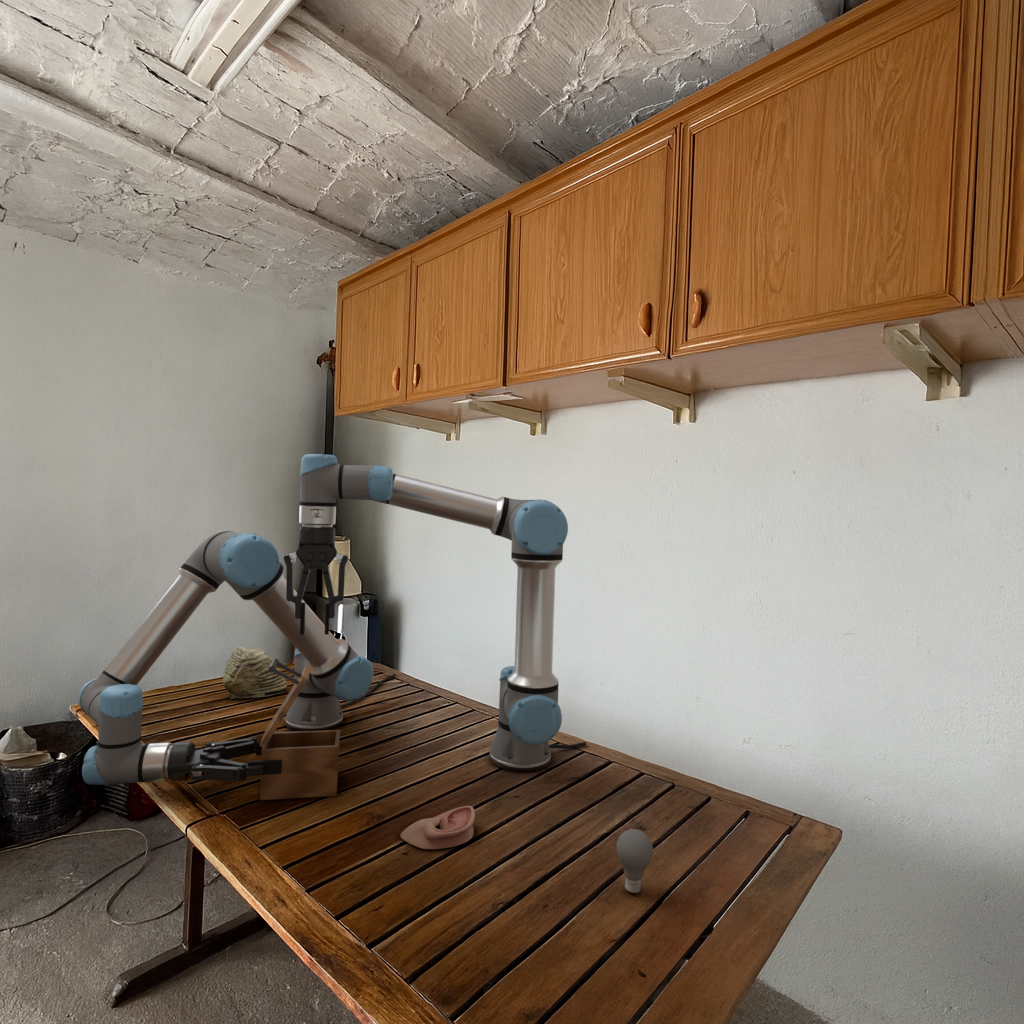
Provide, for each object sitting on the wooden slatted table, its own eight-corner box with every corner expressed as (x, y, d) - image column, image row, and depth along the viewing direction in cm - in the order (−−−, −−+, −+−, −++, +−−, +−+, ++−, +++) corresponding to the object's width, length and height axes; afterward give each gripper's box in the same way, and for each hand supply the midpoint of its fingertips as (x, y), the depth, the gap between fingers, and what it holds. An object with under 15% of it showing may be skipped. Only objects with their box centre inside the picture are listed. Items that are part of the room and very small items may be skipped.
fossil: (218, 695, 195) (220, 647, 195) (278, 685, 208) (279, 640, 207) (228, 703, 189) (230, 653, 188) (289, 692, 201) (290, 645, 201)
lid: (311, 667, 142) (279, 649, 140) (307, 679, 133) (273, 660, 131) (270, 730, 140) (237, 713, 139) (264, 748, 131) (228, 730, 129)
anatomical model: (394, 823, 116) (416, 795, 127) (393, 844, 116) (415, 814, 128) (464, 834, 114) (480, 804, 125) (463, 855, 114) (479, 824, 125)
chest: (338, 775, 144) (340, 729, 144) (336, 795, 135) (338, 746, 134) (266, 779, 141) (268, 732, 140) (259, 800, 131) (261, 749, 131)
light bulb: (610, 879, 108) (613, 822, 108) (644, 879, 109) (647, 822, 109) (619, 902, 102) (622, 840, 102) (655, 901, 103) (658, 840, 103)
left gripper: (185, 757, 142) (289, 753, 148) (153, 805, 121) (276, 797, 126) (186, 724, 142) (290, 721, 147) (154, 766, 121) (278, 760, 126)
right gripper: (272, 525, 131) (269, 638, 132) (358, 527, 135) (355, 636, 136) (276, 524, 139) (274, 630, 139) (359, 525, 143) (356, 629, 143)
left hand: (284, 756), depth 137 cm, fingers closed on chest, 10 cm apart
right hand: (314, 633), depth 137 cm, fingers open, 4 cm apart
